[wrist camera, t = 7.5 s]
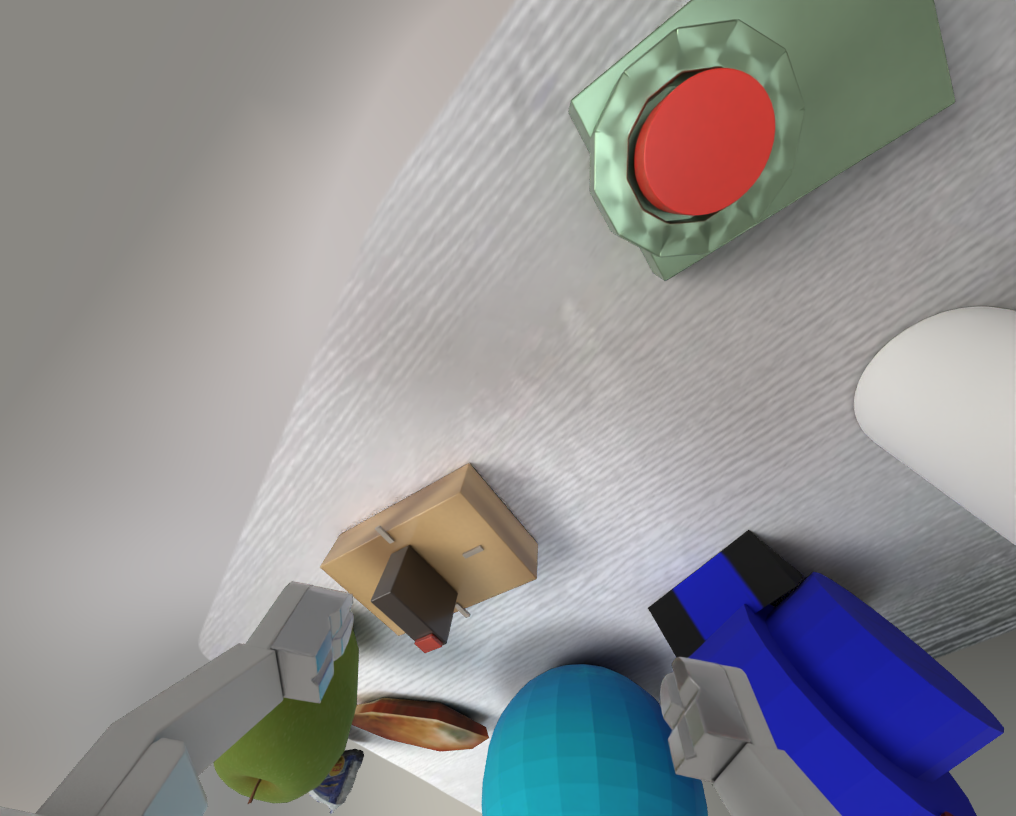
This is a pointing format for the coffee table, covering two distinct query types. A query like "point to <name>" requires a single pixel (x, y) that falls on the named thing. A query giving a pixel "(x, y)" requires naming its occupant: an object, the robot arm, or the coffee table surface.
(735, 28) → the green lamp base
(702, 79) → the lamp button
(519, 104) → the coffee table surface
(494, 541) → the panel
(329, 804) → the snack package
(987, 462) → the bottle
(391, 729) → the wooden boat shaped bowl
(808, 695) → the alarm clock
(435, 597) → the knob
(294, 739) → the apple
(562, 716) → the decorative orb
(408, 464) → the coffee table surface
